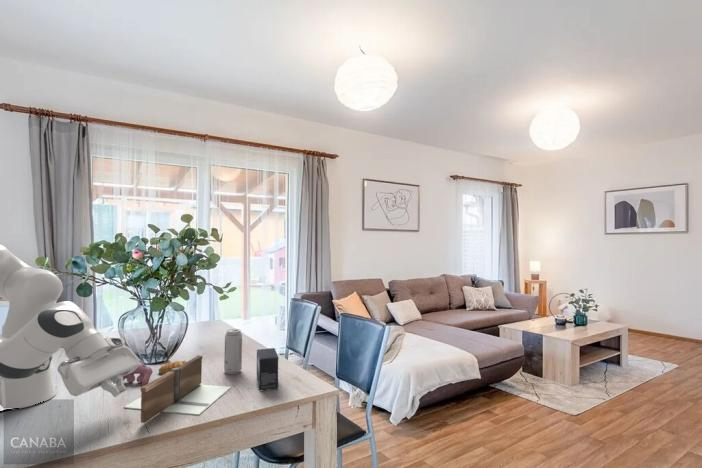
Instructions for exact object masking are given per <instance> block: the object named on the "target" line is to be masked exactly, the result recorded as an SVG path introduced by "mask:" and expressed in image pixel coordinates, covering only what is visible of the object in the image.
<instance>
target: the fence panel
mask: <svg viewBox="0 0 702 468" xmlns="http://www.w3.org/2000/svg"><path fill="white" fill-rule="evenodd" d="M174 375H175V372H172V371H169V372H168V373H166V374H161V376H159V377H157V378H155V379H153V380H151V382H150V381H149V382H148V383H147V384H146V385H145V386H143V385H142V386H141V387H140V393H141V395H140V397H141V410H140V423H141V424H146V423H147V422H149V421H150V420H151V419H153V418H155V416H157V415H159V414H160V413H161V411H163V410H164V409H165V408H167V407H168V406H170V405H171V404H172V403H174Z"/></svg>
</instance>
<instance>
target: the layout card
mask: <svg viewBox="0 0 702 468" xmlns="http://www.w3.org/2000/svg"><path fill="white" fill-rule="evenodd" d="M230 389H232V386H226V385H225V386H223V385H210V384H202V383H201V384H199V385H198V386H197V387H195V388H194V389H192V390H191V391H189V392H188V393H187V394H185V395H184V396H182V397H181V398H180V399H179V402H177V403H172V404H171V405H170V406H168V407H167V408H165V409H164V410H163V411H161V412H162V413H170V414H171V413H173V414H183V415H192V416H200V415H201V414H202V413H204V412H205V411H206V410H207V409H208V408H210V407H211V406H212V405H213V404H214V403H215V402H216V401H217V400H219V399H220V398H221V397H223V396H224V394H226V393H227V392H228V391H229V390H230ZM123 408H124V409H129V410H130V409H131V410H140V411H141V396H140V397H139V398H137V399H135V400H133V401H132V402H130V403H129V404H127V405H125V406H123ZM161 412H160V413H161Z"/></svg>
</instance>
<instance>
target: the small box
mask: <svg viewBox="0 0 702 468" xmlns="http://www.w3.org/2000/svg"><path fill="white" fill-rule="evenodd" d="M256 381H257V386H258V390H263V391H268V390H267V389H271V390H275V389H274V388H278V389H279V355H278V353H277V350H276V349H275V347H271V348H261V349H256Z"/></svg>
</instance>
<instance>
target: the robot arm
mask: <svg viewBox="0 0 702 468" xmlns="http://www.w3.org/2000/svg"><path fill="white" fill-rule="evenodd" d="M63 288H64V286H63V282H62V280H61V279H60V278H59V276H57V275H56V274H55V273H54V272H52V271H50V270H49V269H48V270H47V269H44V268H36V267H34V266H31V265H29V264H27V263H25V262H24V261H23V260H22V259H20V258H19V257H17V256H16V255H15V254H14V253H13V252H11V251H10V250H9V249H8V248H7V247H6V246H4V245H3V244H1V243H0V298H1V299H2V300H4V301H7V302H9V303H8V310H7V314H6V318H5V321H4V324H3V325H2V326H1V333H0V405H1V406H2V407H3V408H19V409H23V408H28V407H33V406H35V404H36V405H38V403H39V404H41V403H44V402H46V401H49V400H51V399H52V398H53V397H55V396H56V394H57V390H56V389H57V388H58V387H57V383H55V377H54V376H55V375H54V368H53V367H54V366H53V363H52V361H53V355H55V354H56V353H57V352H58V351H59V350H60V349H63V350H64V353H65V355H66V356H67V358H68V359H69V360H64V361H61V362H60V363H59V365H58V367H57V372H58V373H59V375H60V376H61V380H62V383H63V384H64V387H65V388H66V390H67V391H68V393H69V395H71V396H73V397H79V396H81V395H82V394H86V393H88V392H90V391H93V390H95V389H97V388H100V387H101V388H102V390H103V391H106V392H108V393H110V394H111V396H112V397H113V398H117V397H118V396H120V395H122V394H124V393H125V392H126V391H127V390H128V389H127V387H126V386H125V385H124V384H125V383H124V382H125V381H123V376H125V375H128V374H130V373H132V372H134V371H135V370H136V369H137V368H138V367H139V365H140V359H139V358H138V357H137V355H136V354H135V352H133V351H132V349H131V348H129V346H127V345H125V343H126V341H125V340H124V339H123V338H122V337H109V336H104V335H103V334H102V333H100V331H98V330H97V329H96V328H95V326H94V323H93V321H92V320H91V318H90V317H89V316H88V314H86V313H85V311H84V310H82V308H81V307H79V306H78V305H77V304H76V303H74V302H73V301H69V300H65V301H59V302H58V299H59V298H60V297H61V295H62V293H63ZM43 401H44V402H43ZM40 402H41V403H40Z"/></svg>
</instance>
